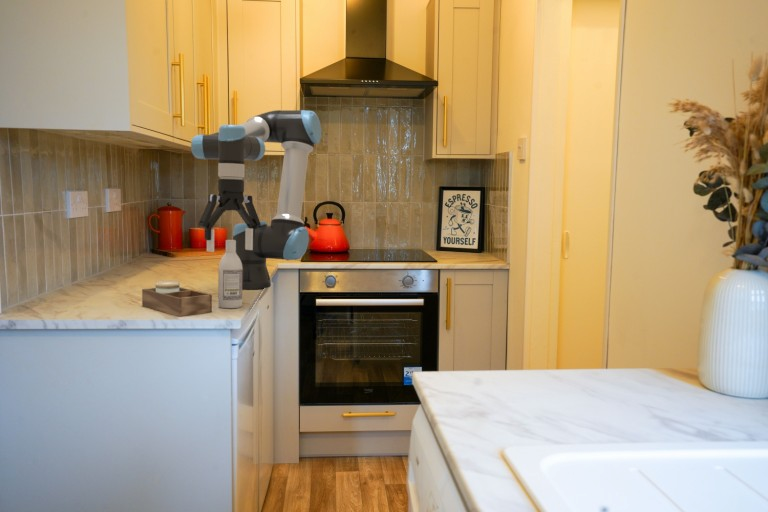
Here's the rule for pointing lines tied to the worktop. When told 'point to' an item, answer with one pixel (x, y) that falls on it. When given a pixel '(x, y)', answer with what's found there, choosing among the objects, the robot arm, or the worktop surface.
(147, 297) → the caddy
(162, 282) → the cream jar
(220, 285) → the bath foam
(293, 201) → the robot arm
